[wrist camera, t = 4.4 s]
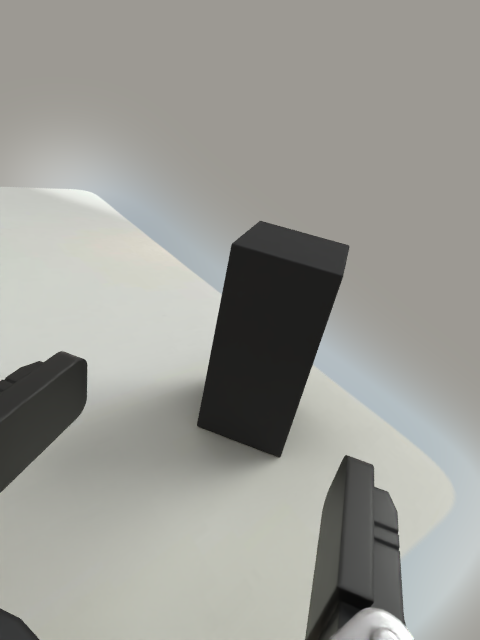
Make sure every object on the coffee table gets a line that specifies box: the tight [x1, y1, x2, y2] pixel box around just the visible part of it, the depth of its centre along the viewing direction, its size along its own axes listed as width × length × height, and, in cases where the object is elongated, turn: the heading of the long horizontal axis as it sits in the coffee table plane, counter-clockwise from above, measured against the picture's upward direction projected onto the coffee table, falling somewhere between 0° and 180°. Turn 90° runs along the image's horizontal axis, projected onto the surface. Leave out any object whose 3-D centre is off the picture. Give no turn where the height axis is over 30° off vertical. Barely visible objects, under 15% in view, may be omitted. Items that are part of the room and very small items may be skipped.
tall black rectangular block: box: [197, 221, 349, 457], centre depth 22 cm, size 5×5×11 cm
